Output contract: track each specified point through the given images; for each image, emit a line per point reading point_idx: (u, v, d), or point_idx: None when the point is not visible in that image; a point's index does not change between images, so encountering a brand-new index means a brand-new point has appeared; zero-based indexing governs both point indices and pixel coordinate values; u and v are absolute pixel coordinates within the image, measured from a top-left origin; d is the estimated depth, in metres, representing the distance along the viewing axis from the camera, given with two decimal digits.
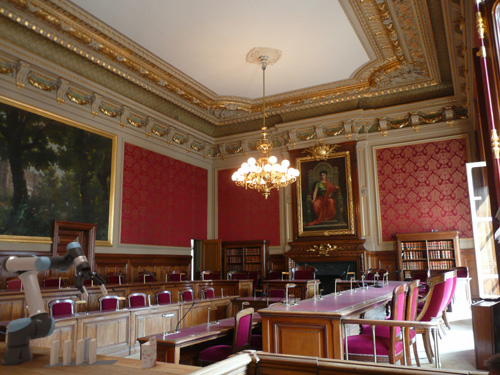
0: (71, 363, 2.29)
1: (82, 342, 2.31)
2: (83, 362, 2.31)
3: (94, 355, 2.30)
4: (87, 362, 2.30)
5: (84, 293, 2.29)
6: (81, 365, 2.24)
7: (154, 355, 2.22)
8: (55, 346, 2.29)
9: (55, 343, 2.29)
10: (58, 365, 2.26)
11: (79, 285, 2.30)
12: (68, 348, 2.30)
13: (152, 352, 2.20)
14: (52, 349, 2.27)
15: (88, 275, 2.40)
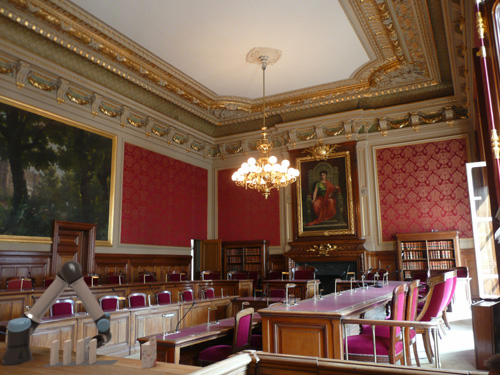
0: (71, 363, 2.29)
1: (82, 342, 2.31)
2: (83, 362, 2.31)
3: (94, 355, 2.30)
4: (87, 362, 2.30)
5: (87, 348, 2.37)
6: (81, 365, 2.24)
7: (154, 355, 2.22)
8: (55, 346, 2.29)
9: (55, 343, 2.29)
10: (58, 365, 2.26)
11: None
12: (68, 348, 2.30)
13: (152, 352, 2.20)
14: (52, 349, 2.27)
15: None
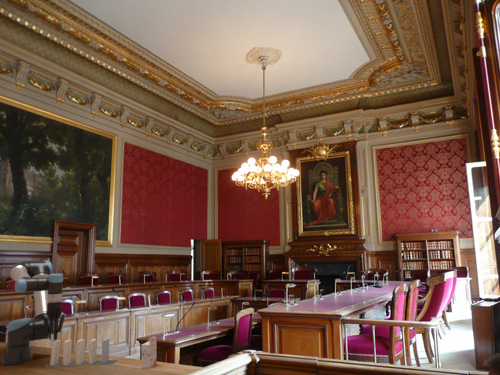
0: (71, 363, 2.29)
1: (82, 342, 2.31)
2: (83, 362, 2.31)
3: (94, 355, 2.30)
4: (87, 362, 2.30)
5: None
6: (81, 365, 2.24)
7: (154, 355, 2.22)
8: (57, 346, 2.29)
9: (57, 343, 2.29)
10: (58, 365, 2.26)
11: None
12: (68, 348, 2.30)
13: (152, 352, 2.20)
14: (53, 349, 2.27)
15: (53, 316, 2.32)
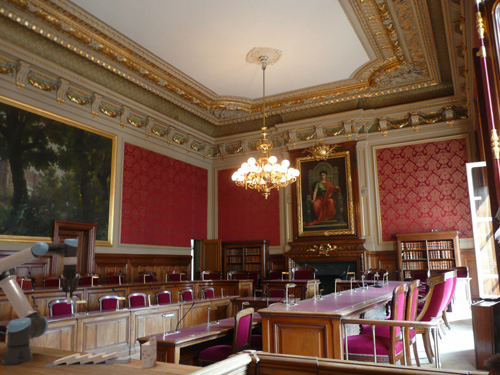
0: None
1: None
2: None
3: None
4: (87, 362, 2.30)
5: None
6: (81, 365, 2.24)
7: (154, 355, 2.22)
8: (72, 359, 2.28)
9: None
10: (58, 365, 2.26)
11: None
12: None
13: (152, 352, 2.20)
14: (68, 359, 2.27)
15: (69, 277, 2.56)
